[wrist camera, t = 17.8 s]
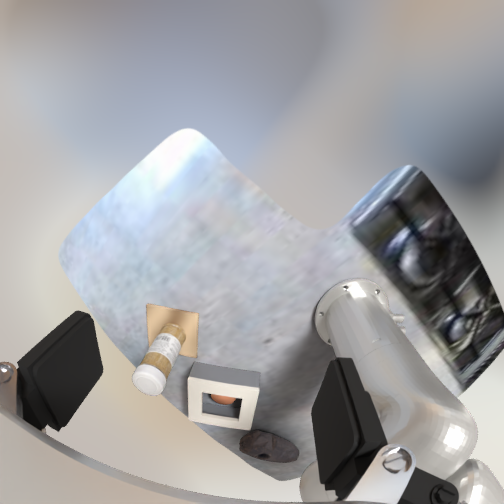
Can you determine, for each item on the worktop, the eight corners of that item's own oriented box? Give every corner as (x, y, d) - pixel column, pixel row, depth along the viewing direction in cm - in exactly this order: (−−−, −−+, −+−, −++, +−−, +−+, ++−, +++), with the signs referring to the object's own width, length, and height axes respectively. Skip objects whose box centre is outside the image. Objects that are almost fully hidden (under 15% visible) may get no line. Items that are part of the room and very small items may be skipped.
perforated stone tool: (304, 441, 52) (306, 463, 45) (290, 450, 53) (291, 472, 46) (252, 421, 50) (250, 446, 43) (239, 431, 51) (236, 455, 45)
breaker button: (237, 385, 46) (236, 390, 45) (235, 400, 48) (234, 406, 46) (212, 381, 46) (211, 386, 45) (211, 396, 48) (210, 402, 46)
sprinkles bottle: (161, 339, 44) (131, 390, 31) (162, 318, 43) (130, 368, 30) (185, 347, 44) (162, 401, 31) (188, 326, 43) (162, 379, 30)
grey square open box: (260, 372, 46) (259, 391, 41) (251, 412, 49) (250, 430, 44) (194, 361, 46) (187, 379, 41) (194, 403, 49) (188, 420, 44)
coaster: (198, 313, 43) (198, 315, 42) (197, 356, 45) (196, 358, 45) (147, 303, 43) (146, 304, 42) (150, 345, 46) (149, 347, 45)
